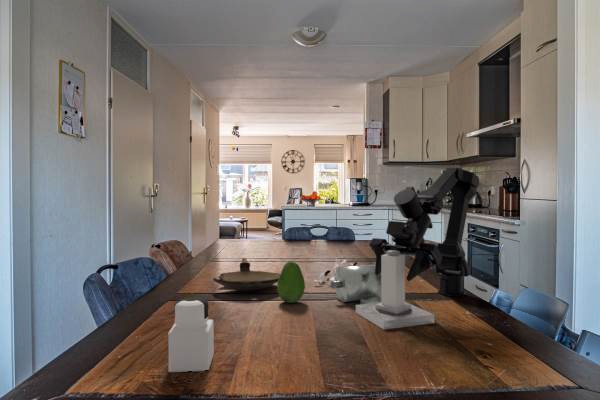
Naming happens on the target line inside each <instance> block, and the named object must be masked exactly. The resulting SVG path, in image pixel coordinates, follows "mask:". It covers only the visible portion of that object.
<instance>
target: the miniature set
mask: <svg viewBox="0 0 600 400" xmlns="http://www.w3.org/2000/svg"><path fill="white" fill-rule="evenodd" d="M337 262H338V264H337ZM334 263H335V265H334V267H333V270H329V269H326V270H325V271H324V272H322V273H321V274H320V275H319V276H318V280H317V279H314V280H313V283H314V284H320V285H321V284H323V281H324V279H325V278H324V277H329V276H331V274H334V275H333V276H331V277H330V278H329V279H328V286H329V287H331V282H333V281H334V277H335V272H336V270H337V268H338V267H340V266H342V264H343V265H345V264H347V259H344V260H343V261H341V258H339V259H338V258H335V262H334ZM357 265H358V262H357V261H356V262H354V263H349V266H357Z"/></svg>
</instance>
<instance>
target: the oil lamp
mask: <svg viewBox="0 0 600 400" xmlns="http://www.w3.org/2000/svg"><path fill="white" fill-rule="evenodd" d="M250 268H251V263H250V262H248V259H247V258H246V257H243V258H242V259H241V262H239V271H229V272H222V273H220V274H219V276H218V277H217V278H215V277H213V279H212V280H213V281H214V282H215V283H217V284H219V285H221V286H223V287H226V288H228V289H230V290H235V291H239V292H243V291H244V292H249V291H260V290H263V289H266V288H268V287H270V286H272V285H275V284H276V283H278V279H279V276H280V274H281V273H278V272H272V271H271V272H270V271H258V270H251V269H250Z"/></svg>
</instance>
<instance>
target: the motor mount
mask: <svg viewBox="0 0 600 400" xmlns="http://www.w3.org/2000/svg"><path fill="white" fill-rule="evenodd" d="M375 266H376V263H375V264H361V265H355V266H352V265H348V266H339V267H337V268H336V272H335V274H334V281H333V282H331V286H330V288H331V289H332V290H335V294H336V297H337V298H338V300H339V301H340V302H341V303H345V302H347V303H348V302H357V301H359V303H360V304H355V314H357V315H359V316H360V317H362V318H364V319H366V320H367V321H369V322H370V323H372V324H374V326H377V327H379V328H380V329H381V330H383V331H385V330H390V329H391V330H392V329H400V328H405V327H406V328H408V327H414V326H421V325H428V324H430V325H431V324H435V314H434V313H431V312H429V311H427V310H425V309H422V308H421V307H418V306H416V305H414V304H411V309H409V310H406V311H403V312H401V313H398V314H396V313H392V312H388V311H383V310H379V309H375V304H378V303H381V273H380V274H379V275H378V276H377V275H376V274H375ZM405 303H406V304H410V303H409V302H407V301H405Z"/></svg>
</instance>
